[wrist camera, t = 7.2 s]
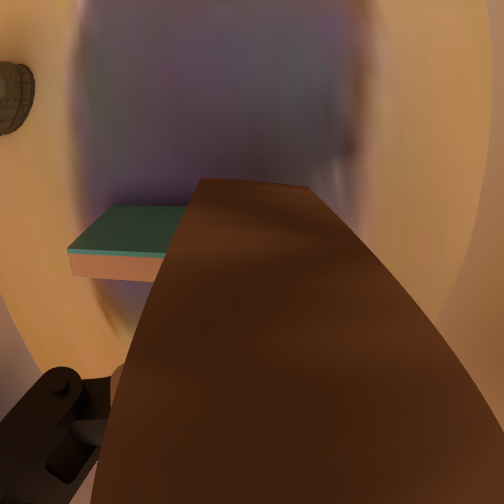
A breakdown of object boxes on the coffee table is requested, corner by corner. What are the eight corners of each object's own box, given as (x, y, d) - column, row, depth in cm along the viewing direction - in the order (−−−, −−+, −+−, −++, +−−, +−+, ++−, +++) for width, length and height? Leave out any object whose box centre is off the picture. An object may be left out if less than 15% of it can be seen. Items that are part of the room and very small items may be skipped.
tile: (195, 206, 27) (179, 253, 18) (195, 228, 28) (180, 283, 20) (112, 205, 26) (66, 248, 17) (114, 226, 27) (73, 275, 19)
